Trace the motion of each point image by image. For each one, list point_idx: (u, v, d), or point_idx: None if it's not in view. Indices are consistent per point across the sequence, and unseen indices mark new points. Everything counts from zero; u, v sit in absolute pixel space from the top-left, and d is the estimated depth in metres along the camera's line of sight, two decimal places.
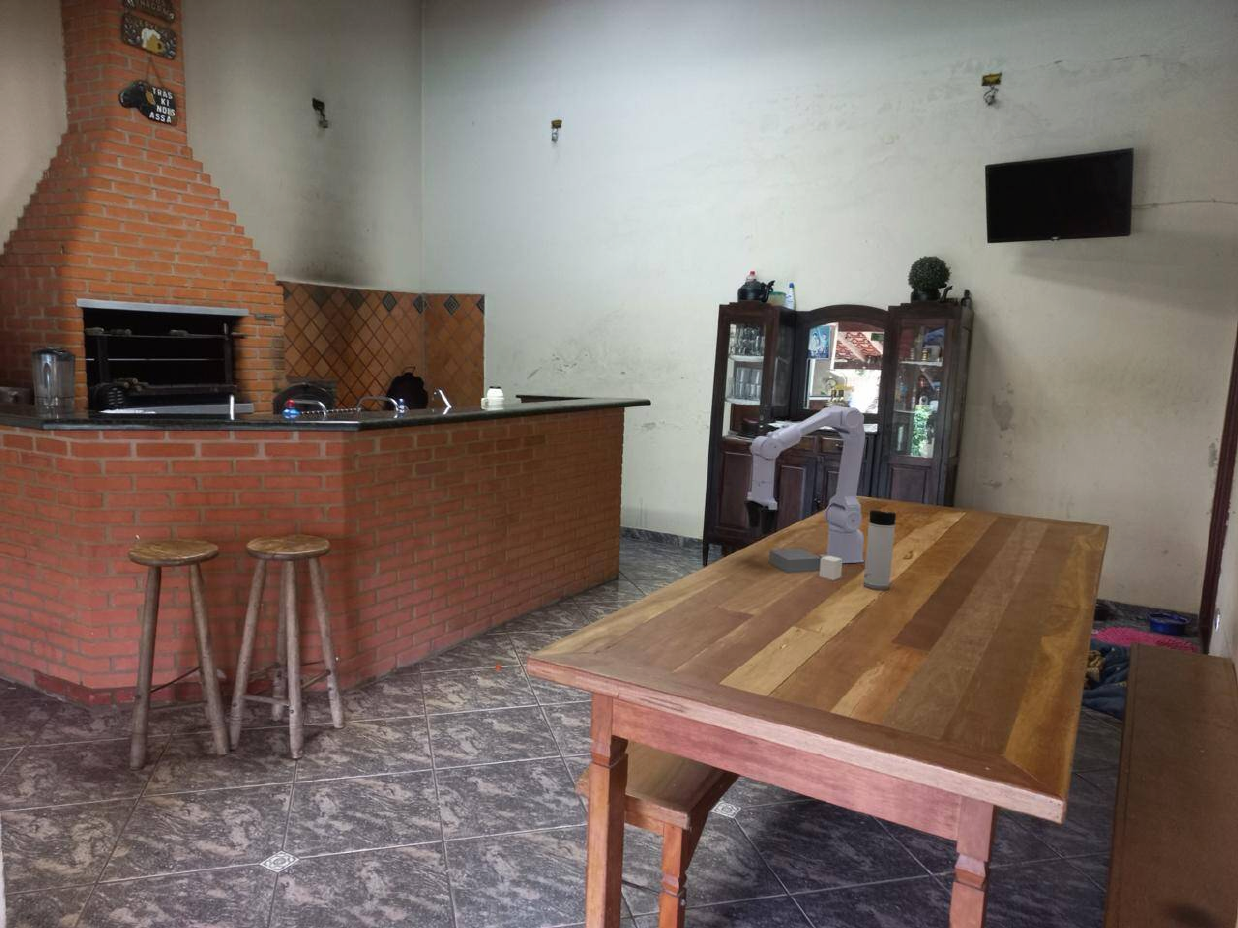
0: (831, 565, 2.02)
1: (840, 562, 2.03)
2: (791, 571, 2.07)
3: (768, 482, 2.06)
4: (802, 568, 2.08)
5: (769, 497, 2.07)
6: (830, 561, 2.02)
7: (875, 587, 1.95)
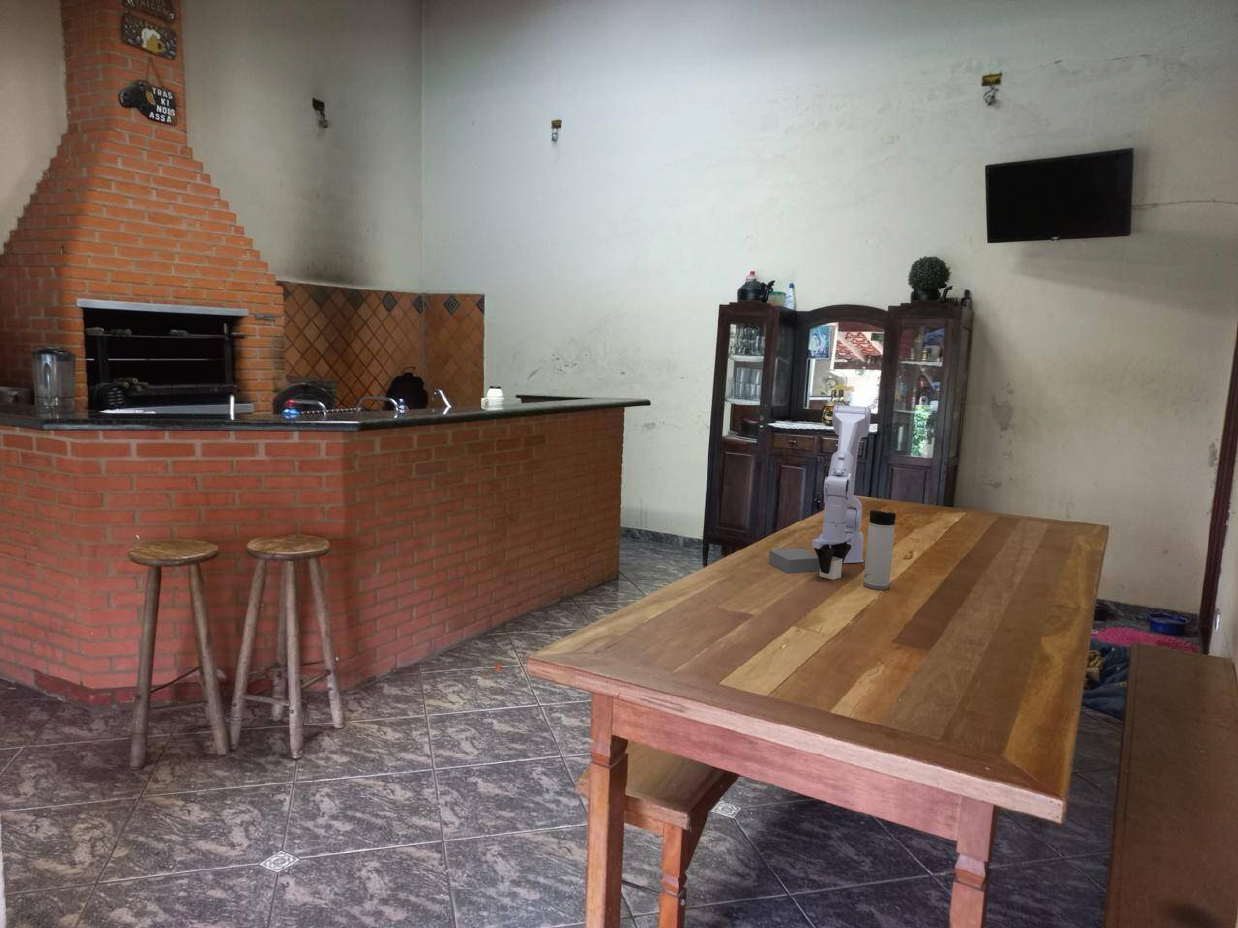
0: (831, 564, 2.02)
1: (840, 562, 2.03)
2: (792, 571, 2.07)
3: (828, 521, 2.00)
4: (802, 568, 2.08)
5: (829, 537, 2.01)
6: None
7: (875, 587, 1.95)
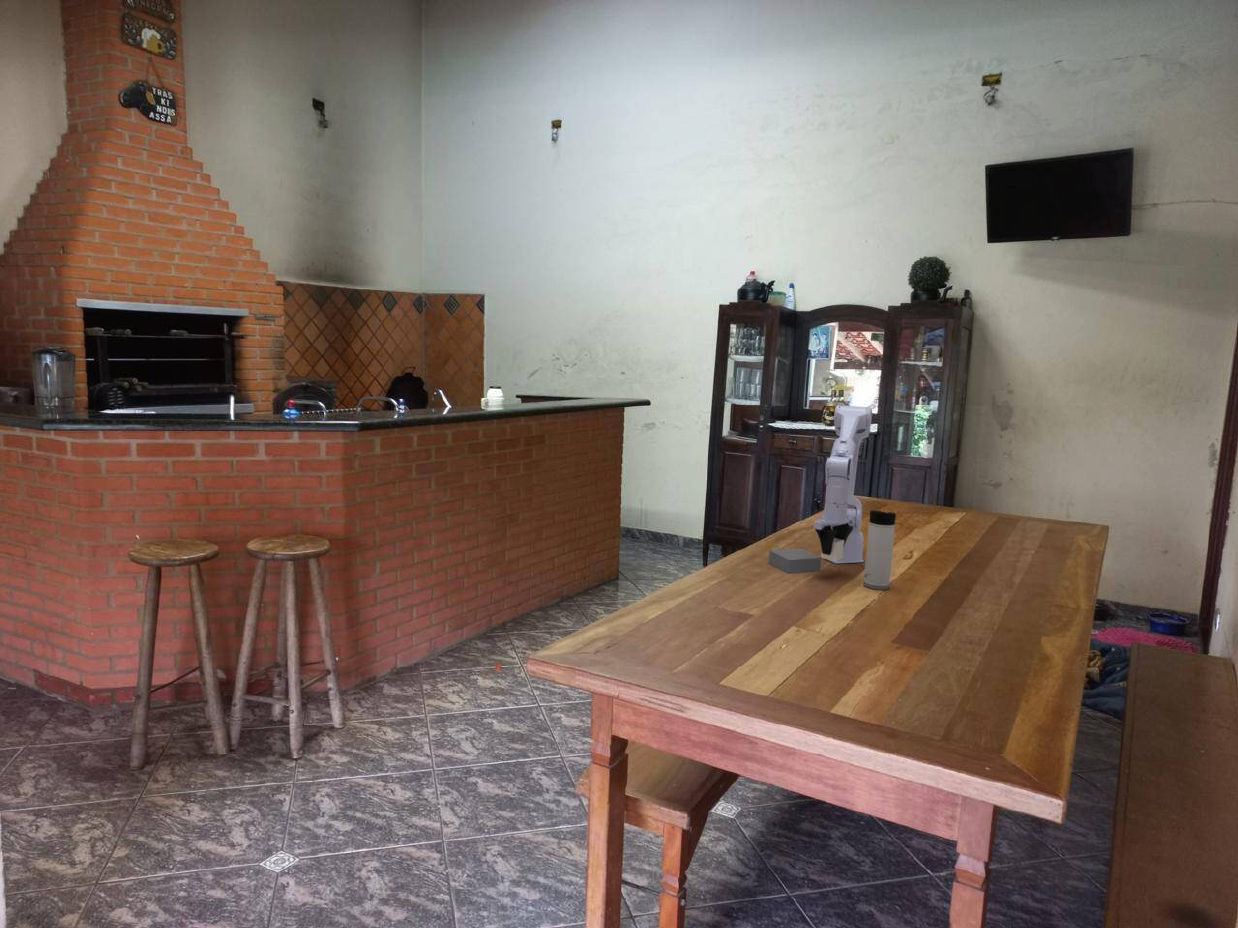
0: (833, 546, 2.01)
1: (842, 543, 2.03)
2: (792, 571, 2.07)
3: (830, 502, 2.00)
4: (802, 568, 2.08)
5: (831, 518, 2.00)
6: None
7: (875, 587, 1.95)
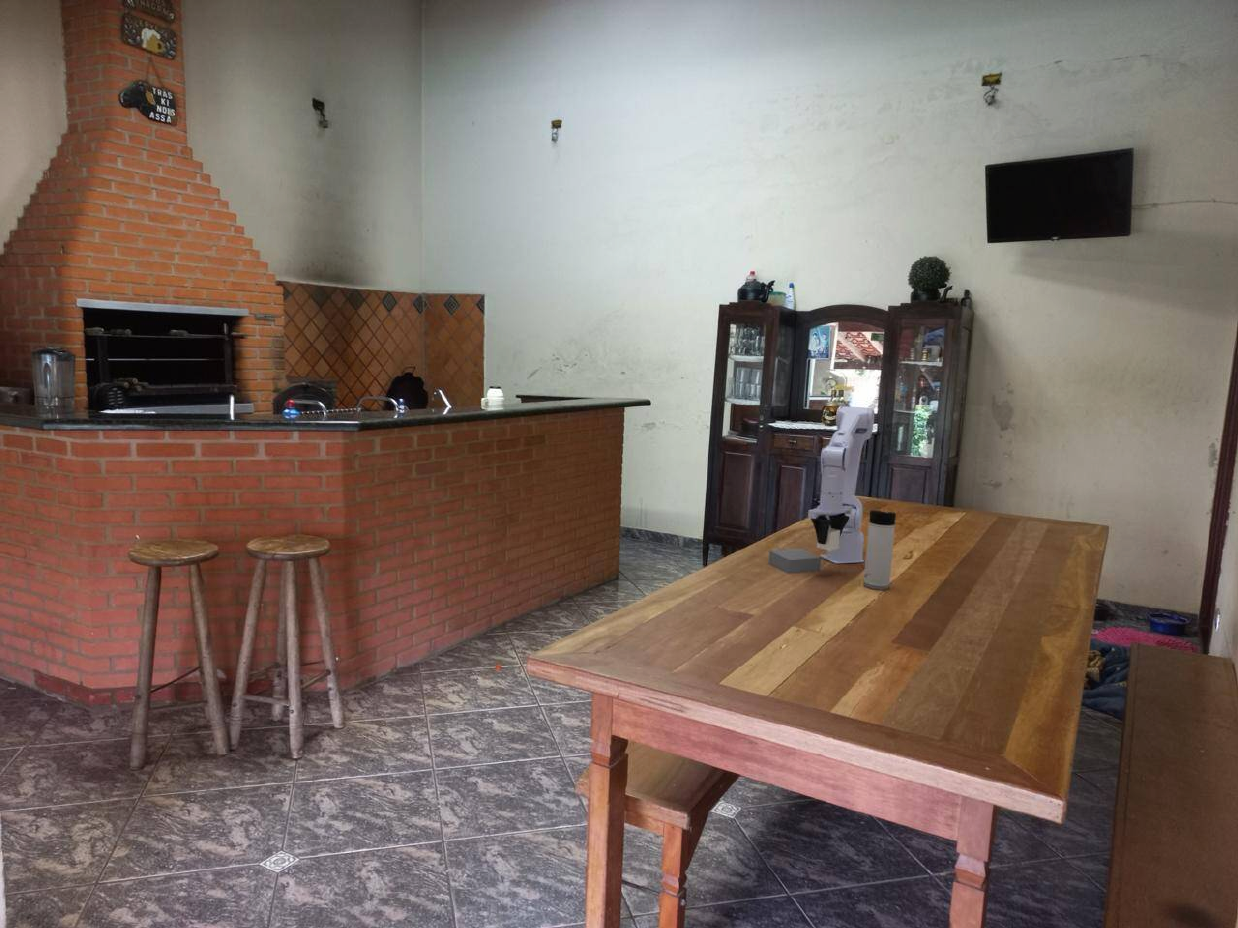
0: (828, 535, 2.02)
1: (837, 533, 2.03)
2: (792, 571, 2.07)
3: (825, 492, 2.01)
4: (802, 568, 2.08)
5: (826, 508, 2.01)
6: None
7: (875, 587, 1.95)
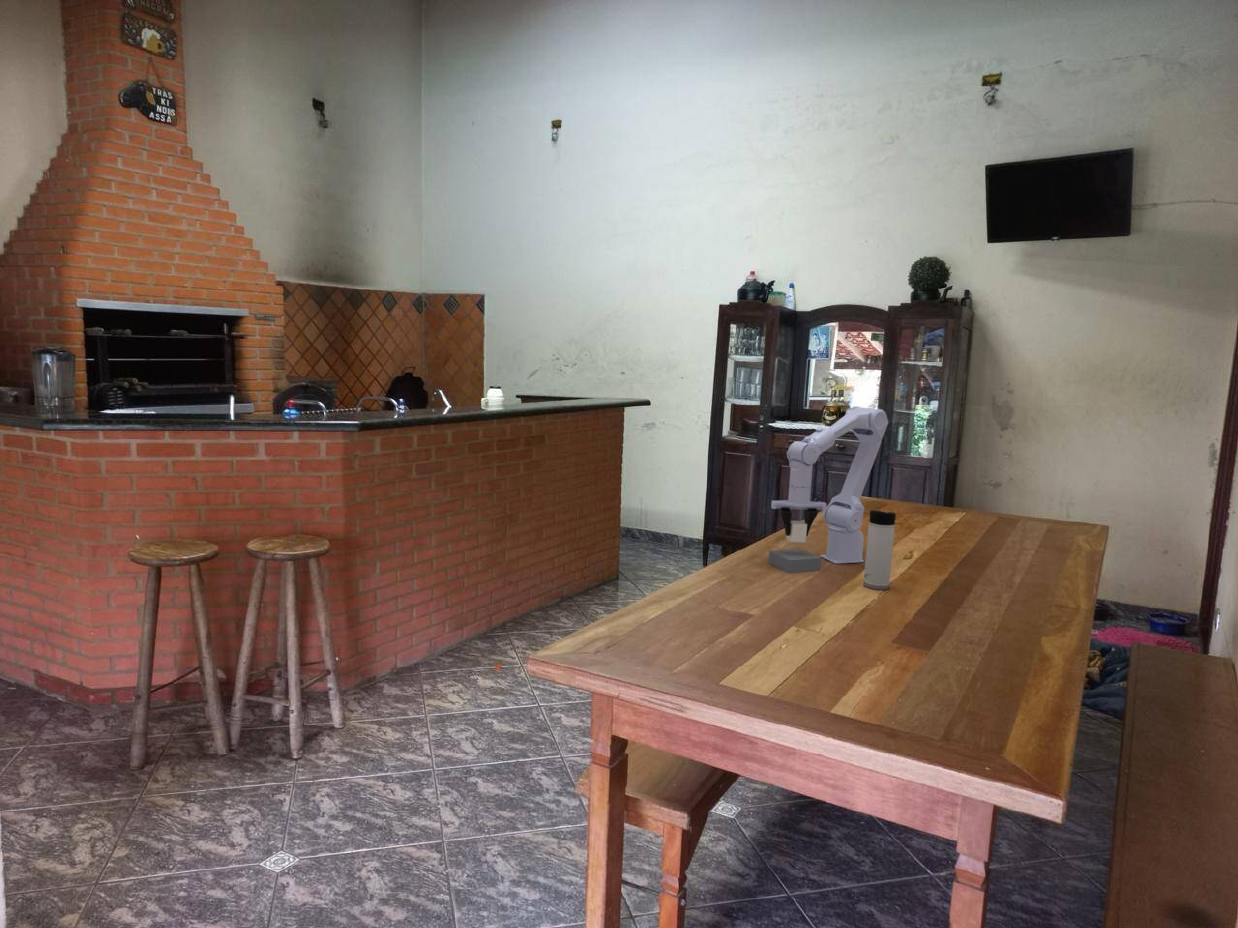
0: (791, 527, 2.09)
1: (803, 527, 2.09)
2: (793, 571, 2.07)
3: (789, 485, 2.09)
4: (803, 568, 2.08)
5: (789, 500, 2.09)
6: (791, 524, 2.10)
7: (875, 587, 1.95)
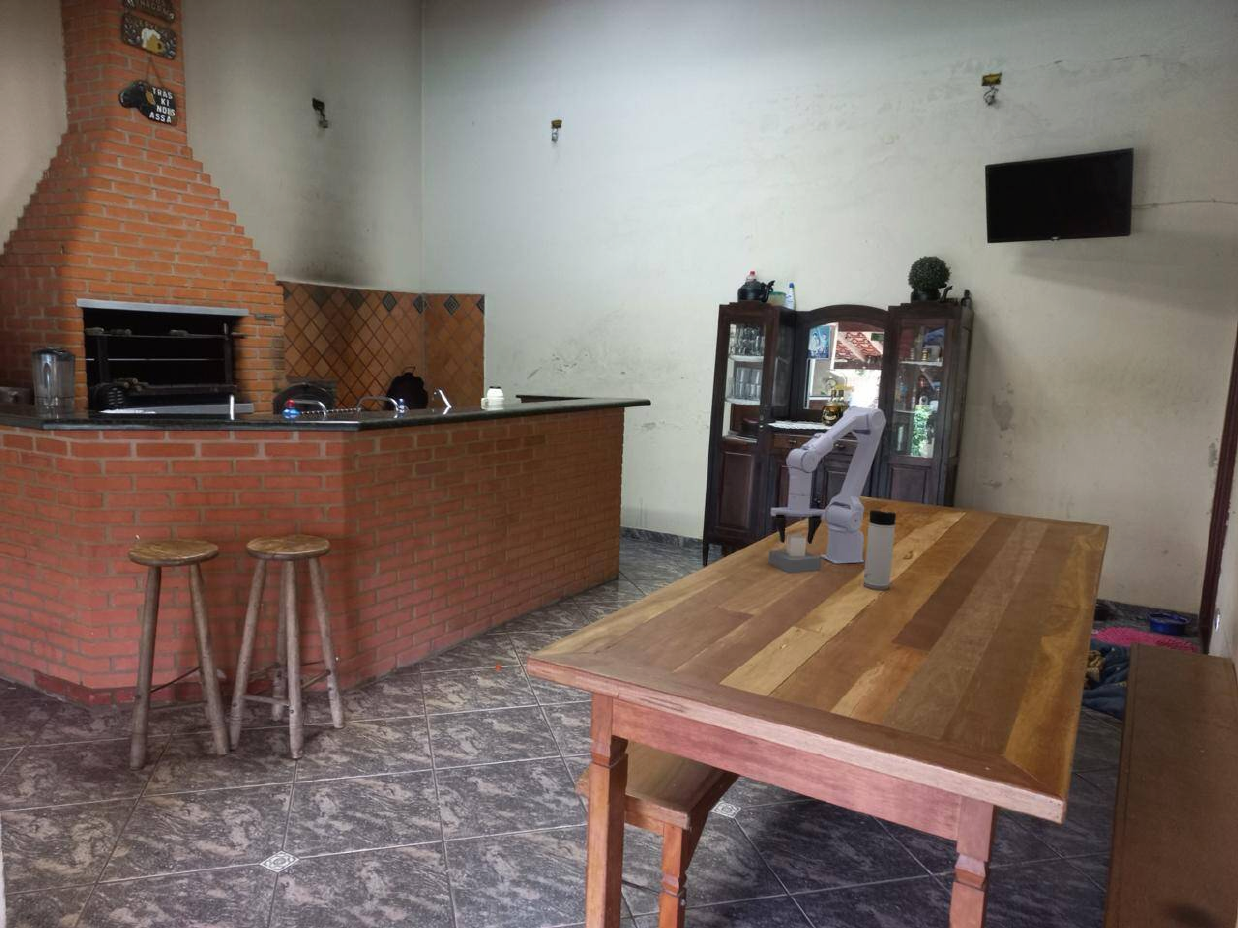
0: (790, 541, 2.10)
1: (802, 541, 2.09)
2: (793, 571, 2.07)
3: (789, 492, 2.09)
4: (803, 569, 2.08)
5: (789, 508, 2.09)
6: (790, 538, 2.10)
7: (875, 587, 1.95)
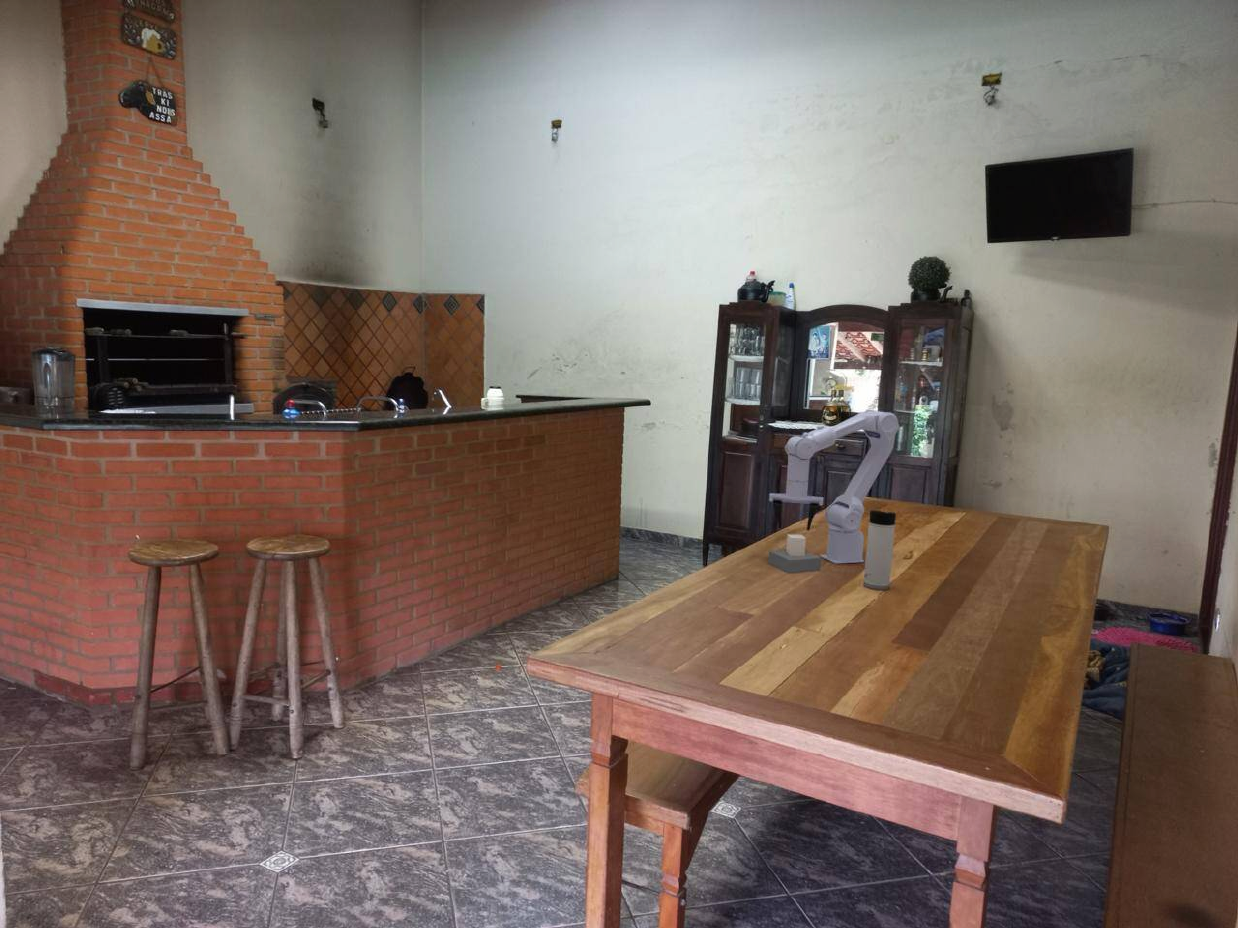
0: (790, 541, 2.10)
1: (802, 541, 2.10)
2: (793, 571, 2.07)
3: (787, 479, 2.14)
4: (803, 568, 2.08)
5: (786, 494, 2.14)
6: (790, 537, 2.10)
7: (875, 587, 1.95)
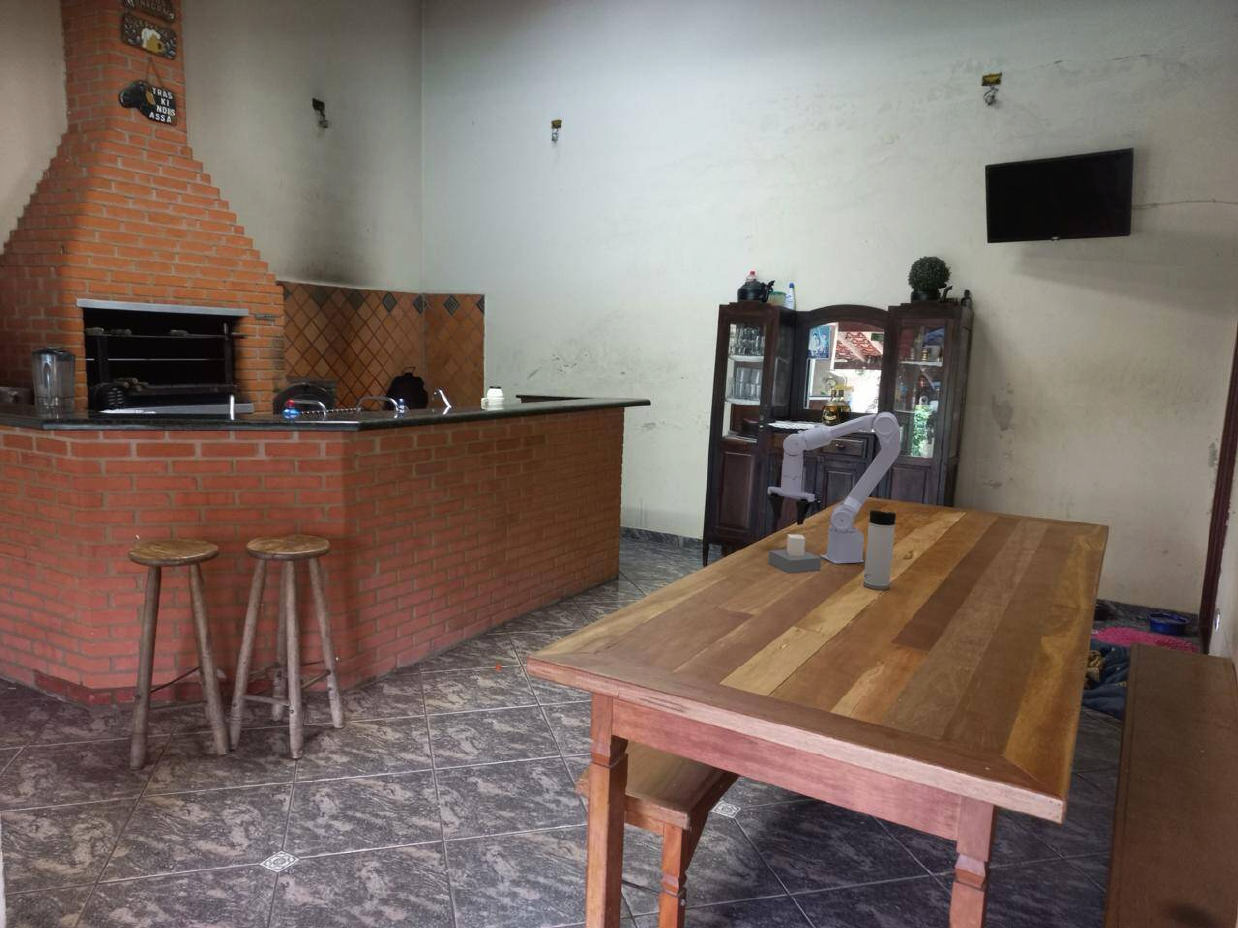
0: (789, 541, 2.10)
1: (801, 541, 2.09)
2: (793, 571, 2.07)
3: None
4: (803, 569, 2.08)
5: None
6: (789, 537, 2.10)
7: (875, 587, 1.95)
